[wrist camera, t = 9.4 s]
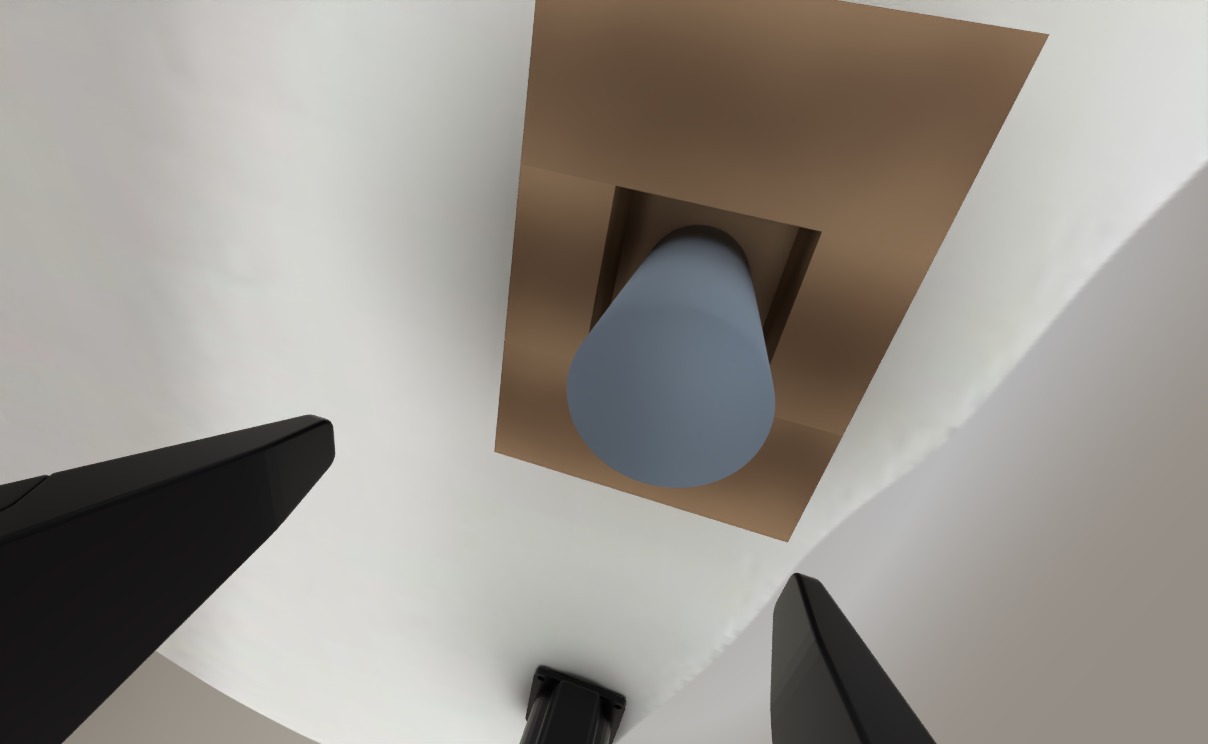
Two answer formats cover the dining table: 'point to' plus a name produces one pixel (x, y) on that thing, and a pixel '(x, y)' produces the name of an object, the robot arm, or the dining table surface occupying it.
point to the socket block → (743, 201)
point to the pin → (677, 367)
